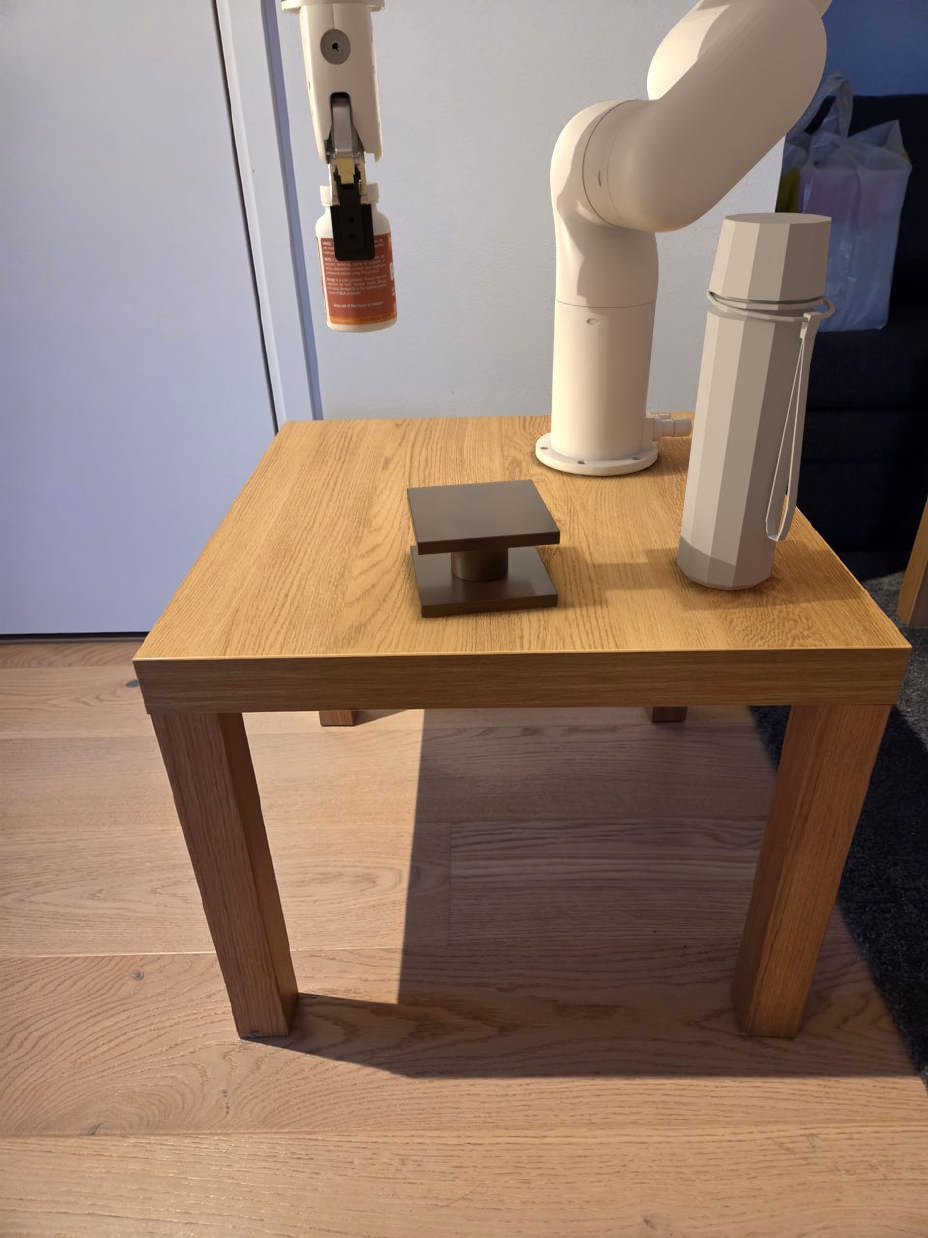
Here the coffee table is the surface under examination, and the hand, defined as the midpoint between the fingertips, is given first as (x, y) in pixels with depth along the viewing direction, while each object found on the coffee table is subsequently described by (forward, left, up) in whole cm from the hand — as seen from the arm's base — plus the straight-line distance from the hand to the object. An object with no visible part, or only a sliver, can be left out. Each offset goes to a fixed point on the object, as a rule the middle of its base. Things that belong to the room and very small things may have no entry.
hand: (356, 251), depth 70 cm
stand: (-7, +20, -21) cm, 30 cm away
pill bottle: (0, 0, -6) cm, 6 cm away
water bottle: (-26, +23, -22) cm, 41 cm away
